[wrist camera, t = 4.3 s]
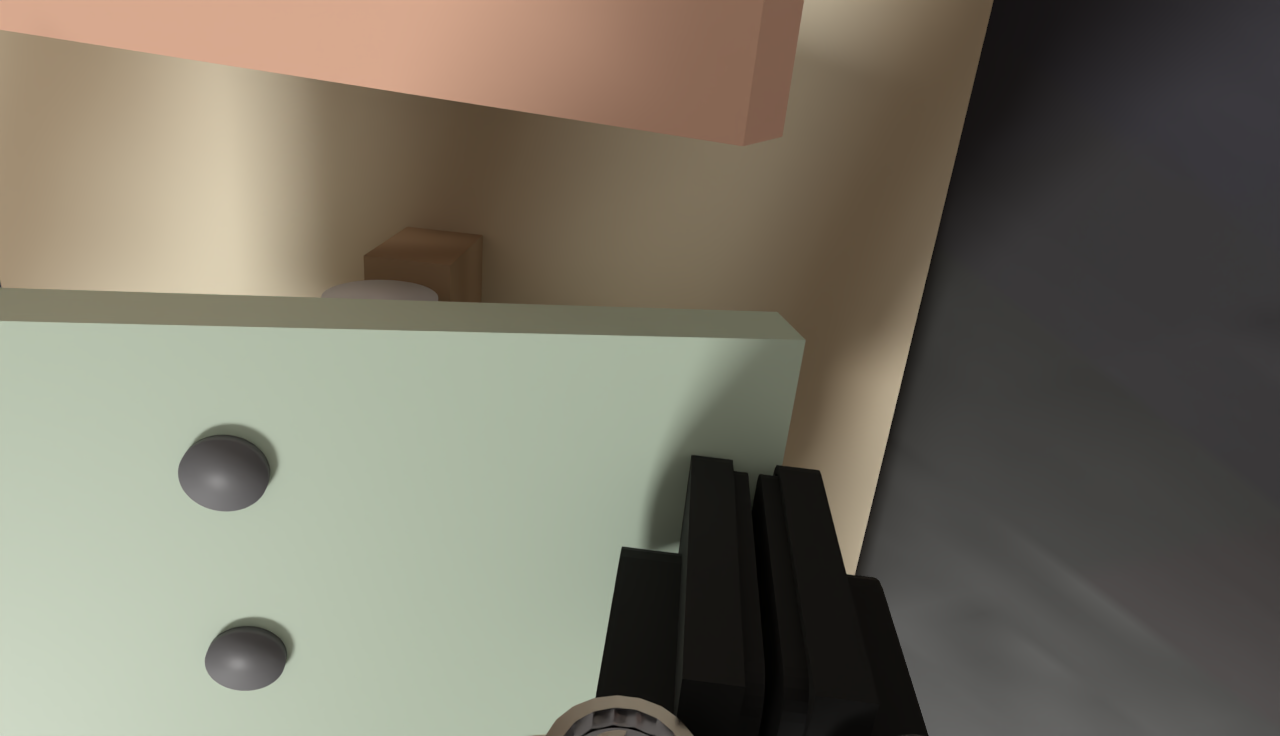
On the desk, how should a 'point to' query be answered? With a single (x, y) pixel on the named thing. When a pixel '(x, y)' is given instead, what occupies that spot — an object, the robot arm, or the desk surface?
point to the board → (517, 200)
